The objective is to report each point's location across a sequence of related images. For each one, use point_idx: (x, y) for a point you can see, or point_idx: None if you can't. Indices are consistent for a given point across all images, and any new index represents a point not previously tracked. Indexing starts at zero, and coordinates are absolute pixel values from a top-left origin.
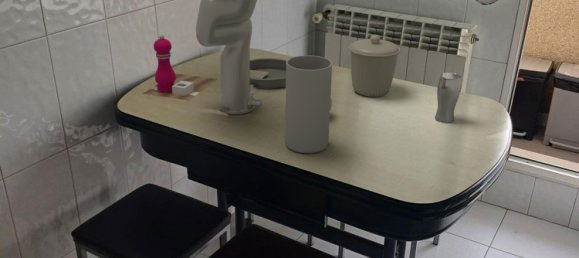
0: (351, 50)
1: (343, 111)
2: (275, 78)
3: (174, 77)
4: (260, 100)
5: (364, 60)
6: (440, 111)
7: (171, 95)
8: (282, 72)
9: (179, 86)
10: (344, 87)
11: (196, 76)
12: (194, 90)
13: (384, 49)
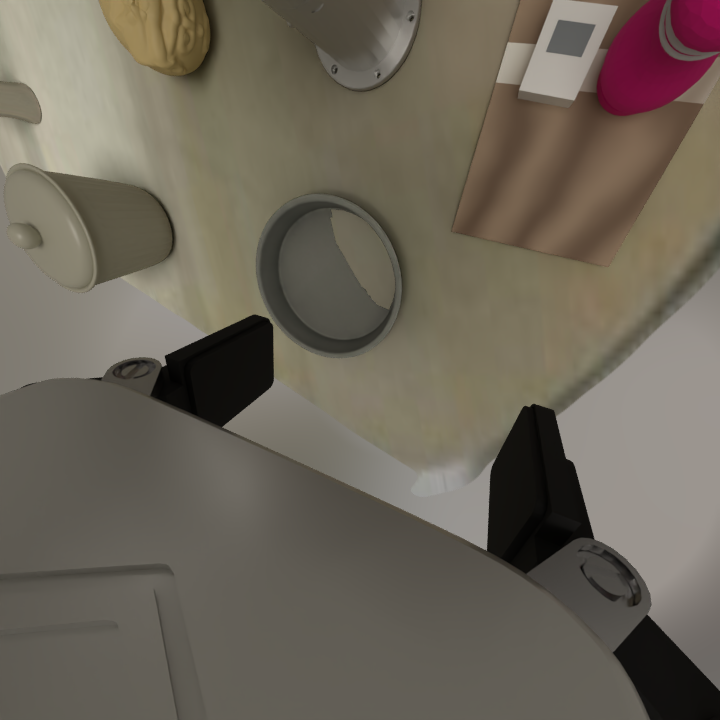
0: (69, 201)
1: (151, 89)
2: (287, 206)
3: (610, 49)
4: (288, 22)
5: (57, 175)
6: (5, 84)
7: (612, 4)
8: (312, 318)
9: (579, 14)
10: (192, 241)
11: (520, 244)
12: (516, 99)
13: (7, 191)
